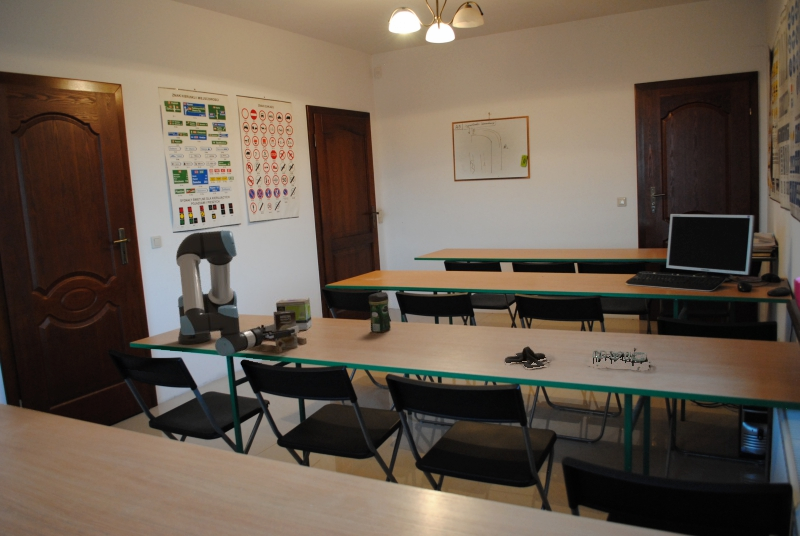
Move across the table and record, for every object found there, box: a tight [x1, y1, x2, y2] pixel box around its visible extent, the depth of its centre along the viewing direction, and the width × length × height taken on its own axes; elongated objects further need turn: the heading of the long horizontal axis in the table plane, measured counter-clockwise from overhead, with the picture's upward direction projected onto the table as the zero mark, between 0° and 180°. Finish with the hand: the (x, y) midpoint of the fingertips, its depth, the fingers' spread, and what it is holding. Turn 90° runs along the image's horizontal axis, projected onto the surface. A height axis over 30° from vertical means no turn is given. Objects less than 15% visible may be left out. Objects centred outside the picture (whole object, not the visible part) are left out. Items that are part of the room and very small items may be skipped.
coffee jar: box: [368, 291, 391, 334], centre depth 280 cm, size 10×8×19 cm
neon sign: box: [591, 350, 649, 366], centre depth 216 cm, size 21×4×29 cm
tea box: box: [275, 297, 313, 331], centre depth 295 cm, size 15×10×15 cm, turn 84°
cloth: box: [504, 346, 546, 368], centre depth 219 cm, size 22×19×6 cm
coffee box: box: [273, 310, 299, 350], centre depth 259 cm, size 9×6×16 cm
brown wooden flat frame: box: [251, 336, 308, 354], centre depth 264 cm, size 24×17×2 cm
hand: (287, 327), depth 259 cm, fingers open, 13 cm apart
